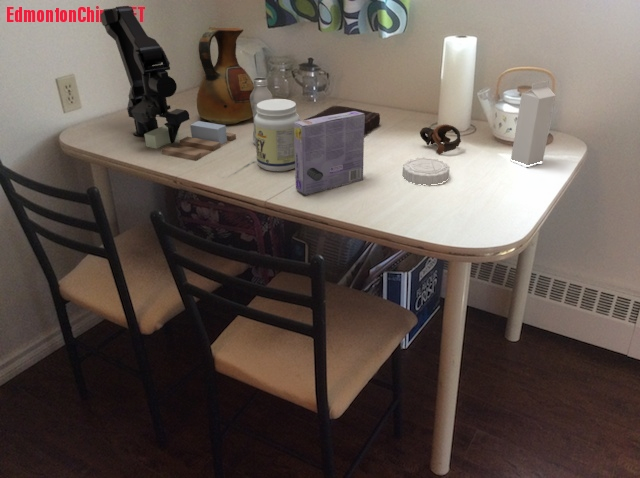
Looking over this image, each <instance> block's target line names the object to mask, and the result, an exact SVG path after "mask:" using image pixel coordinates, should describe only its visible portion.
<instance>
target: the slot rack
mask: <svg viewBox="0 0 640 478" xmlns="http://www.w3.org/2000/svg"><path fill="white" fill-rule="evenodd" d="M226 134H227V142H226V143H224V144H222V145H220V142H215V141H210V140H204V139H199V138H193V137H192V136H186V137H184V138H181V139H180V140H179V145H178V146H175V147H172V146H165V147H163V148H161V154H162V155H164V156H165V155H166V156H170V157H175V158H179V159H185V160H189V161H195V162H197V161H198V160H200V159H202V158H204V157H206V156H208V155H210V154H211V153H213V152H214V151H217V150H219V149H221V148H222V147H224V146H226V145H228V144H230V143H231V142H234V141H235V140H236V139H237V135H236V133H232V132H227V131H226Z"/></svg>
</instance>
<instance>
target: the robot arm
mask: <svg viewBox="0 0 640 478" xmlns="http://www.w3.org/2000/svg"><path fill="white" fill-rule="evenodd" d="M99 15H100V17H99V19H100V21H101V22H100V23H101V25H102V26H103V27H104V28H105V31H106V34H107V35H108V36H110V37H111V38H112V39H113V40H114V41H115V43H116V46H117V50H118V53H119V56H120V59H121V61H122V64H123V67H124V70H125V74H126V76H127V80H128V83H129V85H130V86H129V87H130V89H129V92H128V99H129V100H128V103H127V107H126V110H127V113H128V117H129V118H132V119H133V120H134V126H135V132H133V133H132V135H133V136H137V137H141V138H145V136H144V134H145V133H148V132H150V131H152V130H155V129H157V128H159V125H158V120H157V117H159V118H164V119H165V121H166V122H165V123H163V124H164V125H165V126H166V127H168V132H169V137H170V142H169V143H170V144H174V143H175V142H176V140H177V139H176V136H177V133H178V134H179V130H180V127H181V125H182V123H184V122H187V121H189V120H190V119H191V118H190V113H189V111H188V110H186V109H183V108H182V109H181V108H175V109H174V110H171V105H170V104H168V103H167V98H170V97H172V96H174V95H175V93H176V92H177V87H178V86H177V82H176V81H175V79H174V78H173V77H171V76H169V72H168V71H169V70H171V67H170V65H171V64H170V61H169V58H168V57H167V54H166V52H165V51H164V49H163V47H162V46H161V45H160V43H159V42H158V41H157V40H156V39H155V38H153V37H150V36H148V34H147V33H146V31H145V30H144V28H143V27H142V24H141V23H140V22H139V20H138V18H137V17H136V15H135V13H134V9H133V7H132V6H130V5H122V6H121V5H120V6H115V7H112V8H105V9H103V10H102V12H101V13H100V14H99ZM169 110H171V111H169ZM164 125H163V126H164ZM175 139H176V140H175Z"/></svg>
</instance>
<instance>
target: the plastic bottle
mask: <svg viewBox="0 0 640 478" xmlns="http://www.w3.org/2000/svg"><path fill="white" fill-rule="evenodd" d="M253 84H254V87H255V88H254V89H253V91H252V93H251V94H250V103H251V107H252V112H253V117H252V119H253V121H254V118H255V116H256V114H257V104H258V103H259V102H261V101H264V100H270V99H274V97H273V94H272V92H271V91H270V90H269V88H268V87H267V86H268V80H267V77H255V78H253ZM252 141H253V144H254V145H255V146H256V138H255V124H254V123H253V134H252Z"/></svg>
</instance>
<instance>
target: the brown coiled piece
mask: <svg viewBox="0 0 640 478" xmlns="http://www.w3.org/2000/svg"><path fill="white" fill-rule="evenodd" d="M451 131H453V133H454V134H455V135H456V139H454V140H452V139H451V138H450V137H448V136H446V134H447V133H449V132H451ZM419 135H420V137H421V139H422V140H423V141H424V142H425V144H426V146H430V145H431V144H432V145H434V144H436V145H437V148H436V149H435V152H436V154H438V155H440V154H441V155H442V154H443V153H446V152H450V151H454V150H455V149H457V147H459V145H460V144H461V142H462V141H461V140H462V139H461V133H460V130H459V129H458V128H457V127H456V126H454V125H451V124H440V125H437V127H436V128H434V129H432V128H430V127H427V126H426V127H425V126H424V127H422V128H421V130H420V131H419ZM451 140H452V141H451ZM442 142H443V143H442Z"/></svg>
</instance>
